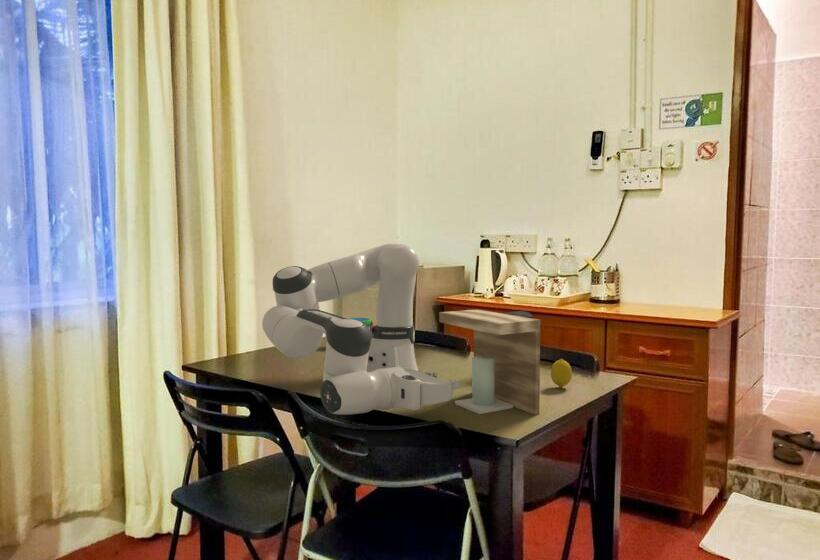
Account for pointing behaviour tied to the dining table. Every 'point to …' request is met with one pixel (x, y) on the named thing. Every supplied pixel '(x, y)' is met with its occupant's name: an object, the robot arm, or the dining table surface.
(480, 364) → the pale green cylinder
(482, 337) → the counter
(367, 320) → the snack cup
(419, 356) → the dining table surface
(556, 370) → the lemon
